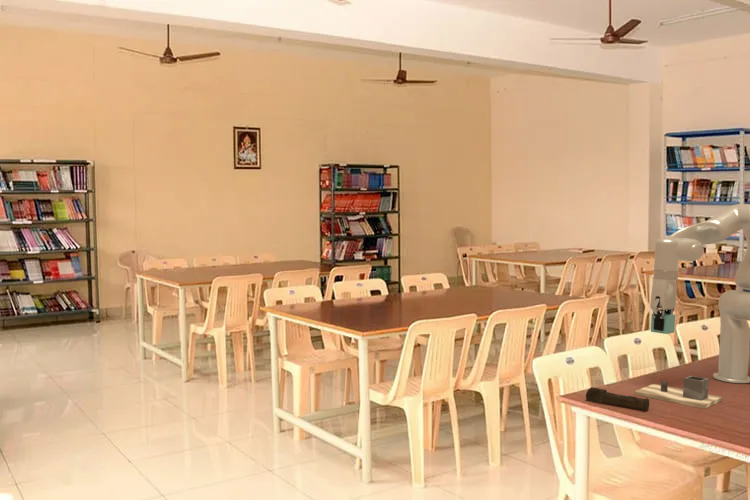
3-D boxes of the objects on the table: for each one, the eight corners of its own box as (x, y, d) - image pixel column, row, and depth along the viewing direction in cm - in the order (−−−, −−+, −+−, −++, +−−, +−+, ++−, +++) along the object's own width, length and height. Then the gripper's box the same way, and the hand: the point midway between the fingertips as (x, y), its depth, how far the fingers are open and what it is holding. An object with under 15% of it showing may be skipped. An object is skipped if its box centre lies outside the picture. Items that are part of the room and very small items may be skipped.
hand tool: (650, 410, 224) (650, 395, 224) (645, 413, 221) (646, 397, 221) (589, 399, 236) (590, 384, 236) (584, 401, 233) (584, 387, 233)
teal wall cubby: (658, 330, 256) (659, 312, 255) (674, 332, 252) (675, 314, 251) (650, 331, 252) (651, 313, 251) (667, 334, 248) (668, 316, 247)
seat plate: (653, 387, 252) (654, 366, 251) (721, 400, 236) (722, 378, 236) (634, 394, 242) (635, 372, 241) (704, 408, 226) (705, 385, 226)
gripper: (666, 273, 259) (663, 325, 260) (643, 275, 247) (640, 330, 248) (687, 275, 254) (684, 328, 255) (665, 278, 242) (662, 333, 243)
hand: (662, 328), depth 252 cm, fingers closed on teal wall cubby, 5 cm apart
